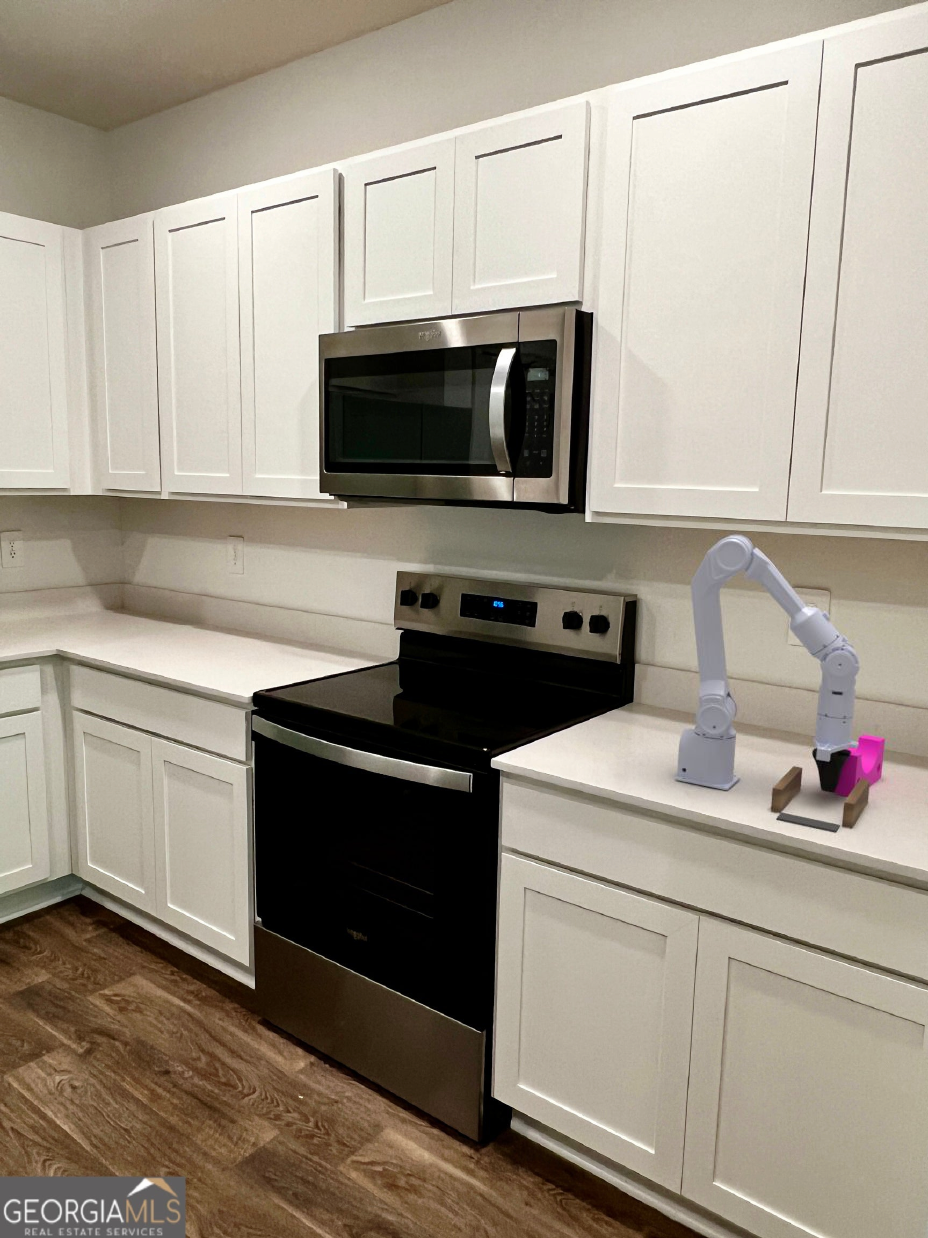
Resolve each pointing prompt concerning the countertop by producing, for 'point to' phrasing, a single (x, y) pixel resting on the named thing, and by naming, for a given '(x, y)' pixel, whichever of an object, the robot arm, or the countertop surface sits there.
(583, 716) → the countertop surface
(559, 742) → the countertop surface
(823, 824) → the pit pad
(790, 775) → the channel
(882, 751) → the toy block
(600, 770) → the countertop surface
